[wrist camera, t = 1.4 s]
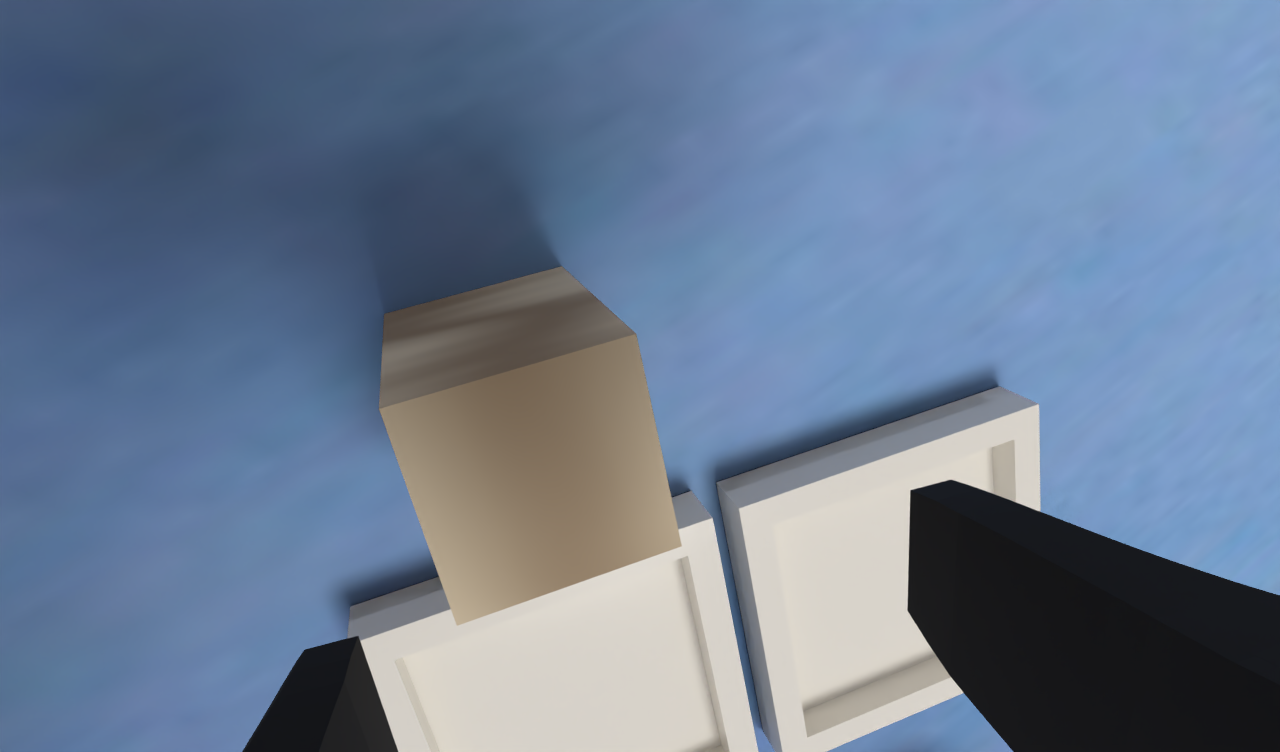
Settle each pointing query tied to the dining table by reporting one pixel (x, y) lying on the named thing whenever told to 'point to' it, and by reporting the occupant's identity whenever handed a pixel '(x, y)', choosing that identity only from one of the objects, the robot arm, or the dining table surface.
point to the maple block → (524, 439)
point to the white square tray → (570, 661)
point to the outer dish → (858, 564)
